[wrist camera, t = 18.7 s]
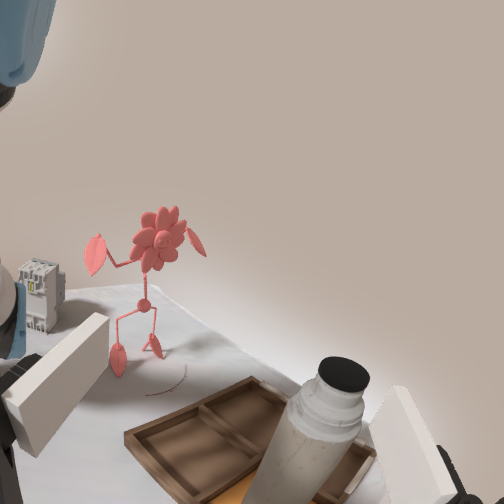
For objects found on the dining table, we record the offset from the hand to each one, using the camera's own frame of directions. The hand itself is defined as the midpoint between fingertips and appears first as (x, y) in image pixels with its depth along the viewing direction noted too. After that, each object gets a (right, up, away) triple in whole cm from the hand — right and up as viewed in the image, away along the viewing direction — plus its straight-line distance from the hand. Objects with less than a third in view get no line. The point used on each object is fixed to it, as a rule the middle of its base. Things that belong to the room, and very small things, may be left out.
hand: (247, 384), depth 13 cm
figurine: (-22, -20, +48) cm, 56 cm away
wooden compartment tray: (+1, -29, +31) cm, 42 cm away
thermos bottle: (+2, -31, +20) cm, 37 cm away
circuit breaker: (-52, -11, +53) cm, 75 cm away
